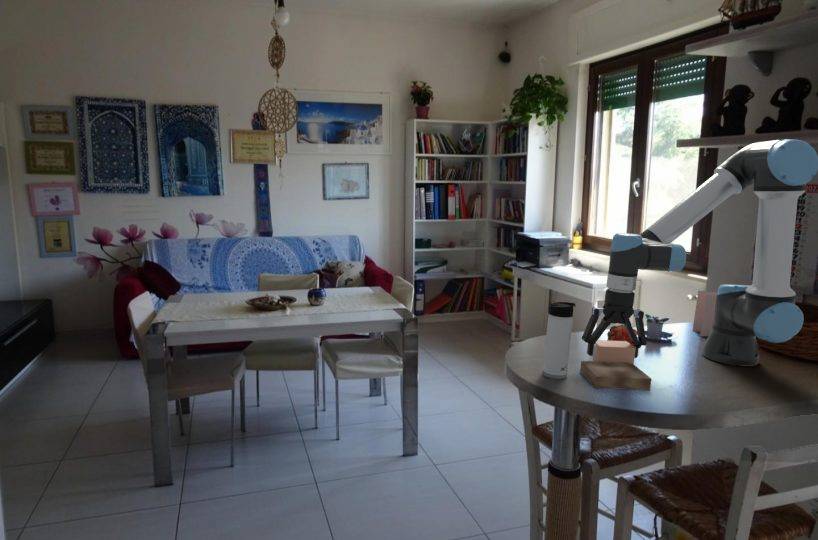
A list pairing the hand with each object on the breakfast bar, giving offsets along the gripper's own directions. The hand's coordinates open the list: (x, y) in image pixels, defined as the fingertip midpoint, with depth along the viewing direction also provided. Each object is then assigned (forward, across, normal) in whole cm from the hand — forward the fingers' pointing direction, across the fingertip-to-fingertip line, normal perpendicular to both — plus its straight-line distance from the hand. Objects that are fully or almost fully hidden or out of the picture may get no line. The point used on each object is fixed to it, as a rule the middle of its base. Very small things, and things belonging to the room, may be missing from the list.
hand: (610, 367), depth 156 cm
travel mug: (+1, -18, -7) cm, 19 cm away
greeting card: (0, +51, +40) cm, 65 cm away
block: (0, 0, 0) cm, 0 cm away
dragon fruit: (0, +11, +20) cm, 23 cm away
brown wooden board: (0, -3, -9) cm, 10 cm away
